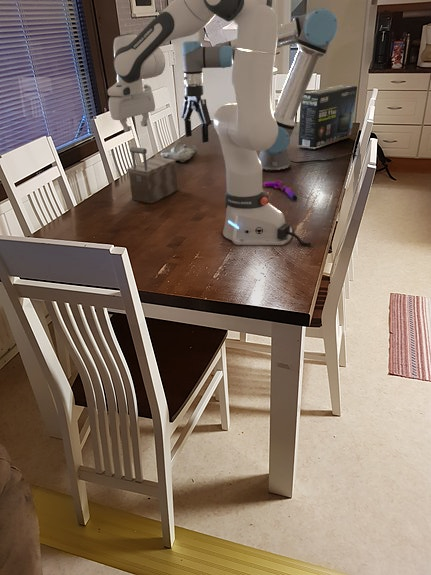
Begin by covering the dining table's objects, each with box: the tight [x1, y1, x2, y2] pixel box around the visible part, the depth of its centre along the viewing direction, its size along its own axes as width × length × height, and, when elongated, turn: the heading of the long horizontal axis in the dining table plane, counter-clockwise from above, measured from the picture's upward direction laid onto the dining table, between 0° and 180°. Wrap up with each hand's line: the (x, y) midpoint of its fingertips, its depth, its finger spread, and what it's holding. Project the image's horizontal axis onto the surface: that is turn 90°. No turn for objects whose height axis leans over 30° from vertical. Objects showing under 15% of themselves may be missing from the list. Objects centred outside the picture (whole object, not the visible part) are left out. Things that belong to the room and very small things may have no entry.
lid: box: [126, 146, 177, 175], centre depth 176 cm, size 18×10×9 cm, turn 147°
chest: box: [128, 162, 179, 204], centre depth 182 cm, size 17×10×11 cm, turn 147°
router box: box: [297, 84, 358, 151], centre depth 238 cm, size 36×11×27 cm, turn 134°
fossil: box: [160, 142, 199, 163], centre depth 229 cm, size 18×11×15 cm
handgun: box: [262, 180, 298, 201], centre depth 180 cm, size 21×8×2 cm, turn 11°
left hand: (135, 128), depth 166 cm, fingers open, 8 cm apart
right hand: (196, 139), depth 194 cm, fingers open, 13 cm apart
